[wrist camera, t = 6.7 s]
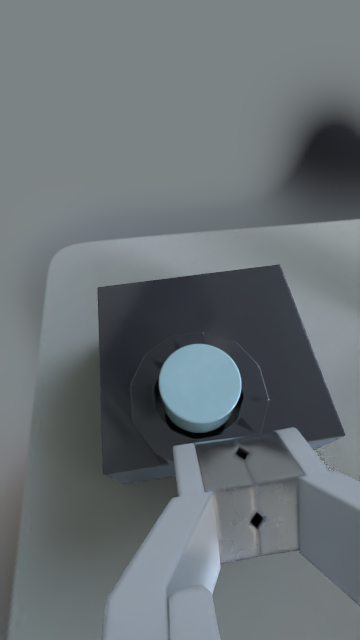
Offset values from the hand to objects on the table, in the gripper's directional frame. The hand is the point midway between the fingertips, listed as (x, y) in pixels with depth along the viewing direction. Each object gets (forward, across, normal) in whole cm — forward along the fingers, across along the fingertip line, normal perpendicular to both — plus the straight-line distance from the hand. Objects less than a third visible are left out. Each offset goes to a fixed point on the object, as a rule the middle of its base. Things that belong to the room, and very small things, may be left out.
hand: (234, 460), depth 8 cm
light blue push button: (+8, 0, -2) cm, 8 cm away
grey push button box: (+15, +1, -6) cm, 16 cm away
